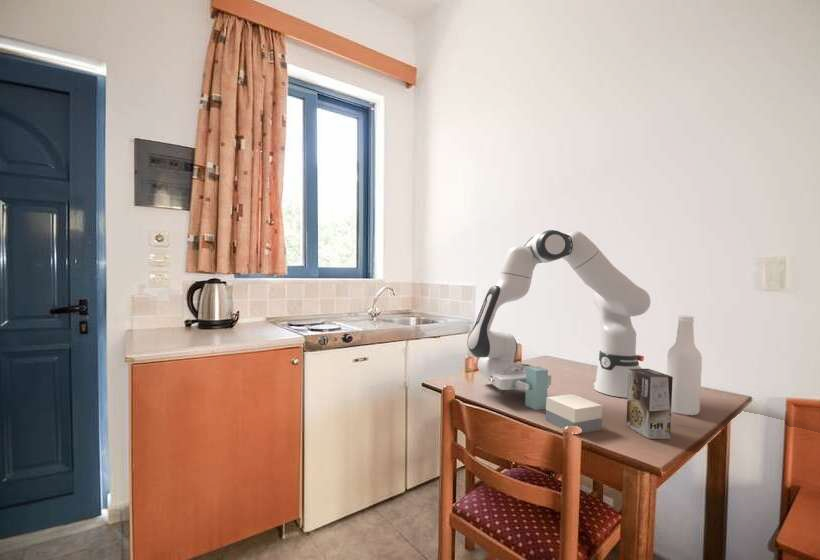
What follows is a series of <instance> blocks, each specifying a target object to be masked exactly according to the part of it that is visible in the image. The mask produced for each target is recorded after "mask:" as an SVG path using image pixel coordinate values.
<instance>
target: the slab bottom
mask: <svg viewBox="0 0 820 560" xmlns="http://www.w3.org/2000/svg"><path fill="white" fill-rule="evenodd" d="M602 420H603V418H602V417H601V418H599V419H593V420H588V421H582V422H576V423H574V422H572V421H570V420H567V419H565V418H563V417H561V416H559V415H557V414H554V413H552V412H550V411H548V410H546V409H545V421H546V422H547V423H549V424H552V425H553V426H555V427H557V426H558V428H559V427H560V428H559V429H561V428H564V427H566V426H578V427H580V428H581V429H582V432H583V433H582V434H586V433H589V432H588V431H592V432H596V431H595V430H598V431H602V425H603V424H602V423H603V421H602ZM585 432H586V433H585Z"/></svg>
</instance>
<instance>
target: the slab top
mask: <svg viewBox="0 0 820 560" xmlns="http://www.w3.org/2000/svg"><path fill="white" fill-rule="evenodd" d="M546 410H548V411H550V412H552V413H554V414H557V415H559V416H561V417H563V418H565V419H567V420H570V421H572V422H574V423H576V422H582V421H588V420H593V419H599V418H601V419H602V415H603V414H602V413H603V405H602V404H599V403H598V402H594V401H592V400H589V399H586V398H584V397H581V396H579V395H576V394H574V393H570V394H560V395H555V396H554V395H553V396H547V397H546V409H545V411H546Z"/></svg>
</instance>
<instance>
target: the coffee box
mask: <svg viewBox="0 0 820 560" xmlns="http://www.w3.org/2000/svg"><path fill="white" fill-rule="evenodd" d="M672 382H673V377H672V376H669V375H667V373H662V372H659V371H657V370H654V369H650V368H642V369H628V390H627V398H626V423H625V425H626V426H627V427H628V428H630V429H632V430H633V431H635V432H637V433H638V434H640V435H641V436H643V437H645V438H647V439H648V440H649V439H650V440H654V439H655V440H656V439H657V440H670V438H671V425H672V424H671V422H672V412H671V404H672Z"/></svg>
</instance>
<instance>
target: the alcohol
mask: <svg viewBox="0 0 820 560" xmlns="http://www.w3.org/2000/svg"><path fill="white" fill-rule="evenodd" d="M677 317H678V320H677V321H678V325H677V330H676V338H675V339H676V340H675V343H674V344H673V345H672V346H671V347H669V349H668V352H667V353H666V356H667V357H666V375H669V376H672V377H673V382H672V404H671V413H674V414H677V413H678V415H681V414H682V415H683V416H688V415H689V416H690V415H691V417H694V416H693V415H695V416H697V415H698V414H699V413H700V411H701V410H700V408H701V390H702V389H701V386H702V385H701V384H702V369H703V367H702V365H703V357H702V353H701V352H700V351H699V349H698V348H697V347H696V344H695V334H694V331H695V330H694V322H695V321H694V319H695V317H694V316H692V315H683V314H681V315H680V314H679V315H678V316H677Z"/></svg>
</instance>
